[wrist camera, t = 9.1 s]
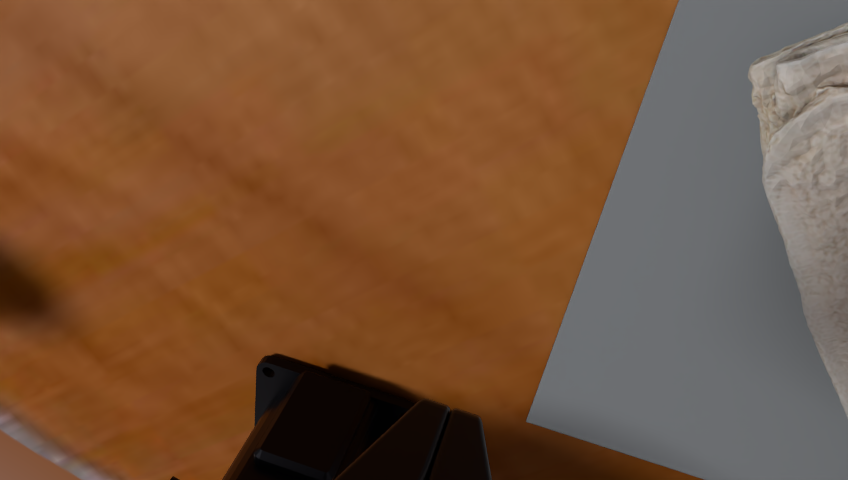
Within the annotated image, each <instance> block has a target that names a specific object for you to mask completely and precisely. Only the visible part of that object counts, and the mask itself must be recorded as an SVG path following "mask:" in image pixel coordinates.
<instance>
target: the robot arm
mask: <svg viewBox="0 0 848 480" xmlns="http://www.w3.org/2000/svg"><path fill="white" fill-rule="evenodd" d="M170 480H179V479H177V478H176V477H174V476H173V477H172V478H171V479H170ZM222 480H492V479H491V473H490V467H489V461H488V455H487V449H486V443H485V437H484V431H483V425H482V421H481V418H480V417H479V416H477V415H475V414H472V413H469V412H466V411H463V410H460V409H453V410H451V412H450V408H449V407H448V406H447V405H445V404H442V403H438V402H435V401H432V400H429V399H421V400H420V401H418V402H417V403H416V404H415V403H413V402H411V401H409V400H406V399H403V398H400V397H397V396H394V395H390V394H387V393H384V392H381V391H378V390H375V389H372V388H369V387H366V386H363V385H360V384H357V383H354V382H351V381H348V380H345V379H342V378H339V377H335V376H332V375H329V374H326V373H323V372H320V371H317V370H314V369H311V368H308V367H305V366H302V365H299V364H296V363H293V362H290V361H287V360H284V359H280V358H277V357H274V356H265V357H263V358H262V360H261V361H260V362H259V364H258V366H257V371H256V401H255V427H254V429H253V431H252V432H251V434H250V435H249V437H248V439H247V440H246V442H245V444H244V445H243V447H242V448H241V450H240V452H239V453H238V455H237V456H236V458H235V460H234V461H233V463H232V465H231V466H230V468H229V469H228V471H227V473H226V474H225V476H224V477H223V479H222Z"/></svg>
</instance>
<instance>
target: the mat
mask: <svg viewBox="0 0 848 480" xmlns="http://www.w3.org/2000/svg"><path fill="white" fill-rule="evenodd" d="M844 23H848V0H679V2H678V4H677V7H676V10H675V13H674V15H673V18H672V21H671V24H670V26H669V29H668V32H667V35H666V37H665V40H664V43H663V46H662V48H661V51H660V54H659V57H658V59H657V62H656V65H655V68H654V70H653V73H652V76H651V79H650V81H649V84H648V87H647V90H646V92H645V95H644V98H643V101H642V103H641V106H640V109H639V112H638V114H637V117H636V120H635V123H634V125H633V128H632V131H631V134H630V136H629V139H628V142H627V145H626V147H625V150H624V153H623V156H622V158H621V161H620V164H619V167H618V169H617V172H616V175H615V178H614V180H613V183H612V186H611V189H610V191H609V194H608V197H607V200H606V202H605V205H604V208H603V211H602V213H601V216H600V219H599V222H598V224H597V227H596V230H595V233H594V235H593V238H592V241H591V244H590V246H589V249H588V252H587V255H586V257H585V260H584V263H583V266H582V268H581V271H580V274H579V277H578V279H577V282H576V285H575V288H574V290H573V293H572V296H571V299H570V301H569V304H568V307H567V310H566V312H565V315H564V318H563V321H562V323H561V326H560V329H559V332H558V334H557V337H556V340H555V343H554V345H553V348H552V351H551V354H550V356H549V359H548V362H547V365H546V367H545V370H544V373H543V376H542V378H541V381H540V384H539V387H538V390H537V392H536V395H535V398H534V401H533V403H532V406H531V409H530V412H529V414H528V417H527V420H526V422H529V423H532V424H535V425H538V426H541V427H544V428H547V429H550V430H553V431H557V432H560V433H563V434H566V435H569V436H572V437H575V438H578V439H581V440H584V441H587V442H590V443H594V444H597V445H600V446H603V447H606V448H609V449H612V450H615V451H618V452H621V453H624V454H627V455H631V456H634V457H637V458H640V459H643V460H646V461H649V462H652V463H655V464H658V465H661V466H665V467H668V468H671V469H674V470H677V471H680V472H683V473H686V474H689V475H692V476H695V477H698V478H702V479H705V480H848V418H847V415H846V413H845V411H844V408H843V406H842V404H841V402H840V399H839V395H838V394H837V392H836V390H835V388H834V386H833V383H832V381H831V378H830V376H829V374H828V372H827V370H826V368H825V365H824V363H823V361H822V359H821V357H820V354H819V352H818V349H817V347H816V344H815V341H814V339H813V337H812V333H811V332H810V330H809V328H808V326H807V321H806V318H805V316H804V313H803V307H802V301H801V294H800V292H799V290H798V285H797V282H796V280H795V277H794V273H793V270H792V268H791V266H790V264H789V259H788V255H787V252H786V248H785V244H784V240H783V237H782V236H781V234H780V232H779V229H778V224H777V222H776V220H775V218H774V215H773V212H772V209H771V207H770V205H769V202H768V199H767V196H766V193H765V189H764V186H763V183H762V174H763V172H762V167H763V154H762V149H761V143H760V120H759V118H758V117H757V116H758V114H759V113H758V111H757V108H756V107H755V106H754V105H753V104H752V95H751V94H752V89H753V85H752V83H751V81H750V80H749V79H748V72H749V68H750V66H751V64H752V63H753V62H754V61H756V60H757V59H758V58H761V57H763V56H766V55H769V54H772V53H774V52H777V51H779V50H781V49H782V48H784V47H786V46H789V45H793V44H795V43H798V42H800V41H803V40H805V39H808V38H811V37H813V36H816V35H818V34H820V33H823V32H825V31H828V30H831V29H834V28H836V27H838V26H840V25H842V24H844Z"/></svg>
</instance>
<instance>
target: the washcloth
mask: <svg viewBox="0 0 848 480" xmlns="http://www.w3.org/2000/svg"><path fill="white" fill-rule="evenodd" d="M748 79H749V80H750V81H751V83H752V85H753V89H752V94H751V95H752V104H753V105H754V106H755V107H756V108H757V111H758V113H759V114H758V116H757V117H758V118H759V120H760V143H761V149H762V154H763V167H762V172H763V174H762V183H763V186H764V189H765V193H766V196H767V199H768V202H769V205H770V207H771V209H772V212H773V215H774V218H775V220H776V222H777V224H778V229H779V232H780V234H781V236H782V237H783V240H784V244H785V248H786V252H787V255H788V259H789V264H790V266H791V268H792V270H793V273H794V277H795V280H796V282H797V285H798V290H799V292H800V294H801V301H802V307H803V313H804V316H805V318H806V321H807V326H808V328H809V330H810V332H811V333H812V337H813V339H814V341H815V344H816V347H817V349H818V352H819V354H820V357H821V359H822V361H823V363H824V365H825V368H826V370H827V372H828V374H829V376H830V378H831V381H832V383H833V386H834V388H835V390H836V392H837V394H838V395H839V399H840V402H841V404H842V406H843V408H844V411H845V413H846V415H847V418H848V23H844V24H842V25H840V26H838V27H836V28H834V29H831V30H828V31H825V32H823V33H820V34H818V35H816V36H813V37H811V38H808V39H805V40H803V41H800V42H798V43H795V44H793V45H789V46H786V47H784V48H782V49H781V50H779V51H777V52H774V53H772V54H769V55H766V56H763V57H761V58H758V59H757V60H756V61H754V62H753V63H752V64H751V66H750V68H749V72H748Z"/></svg>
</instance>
